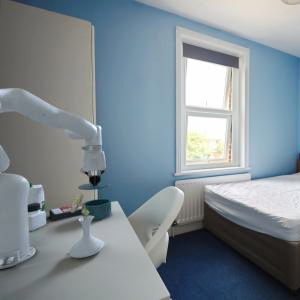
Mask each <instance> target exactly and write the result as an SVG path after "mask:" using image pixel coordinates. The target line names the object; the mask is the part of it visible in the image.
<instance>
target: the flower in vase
mask: <svg viewBox="0 0 300 300" xmlns="http://www.w3.org/2000/svg"><path fill="white" fill-rule="evenodd" d="M84 198H85V192H84V191H80V192H79V193H78V194H77V195H76V197H75V199H74V201H73V202H72V205H71V206H72V208H71V209H70V210H72V211H71V213H72V212H75V211H76V210H77V209H78V207H79V206H80V205H83V203H84V202H83V200H84ZM83 207H84V208H83V209H82V214H84V215H85V216H84V217H82V216H81V217H79V218H78V222H79V223H80V224H81V226H82V238H81V239H80V240H79V241H77V242H76V243H75V244H73V246H71V248H70V249H69V252H68V255H69V256H70V257H71V258H74V259H83V258H88V257H91V256H93V255H95V254H97V253H99V252H100V251H102V250H103V249H104V247H105V243H104V241H102V239H100V238H98V237H95V236H93V235H92V233H91V223H92V222H93V221H92V219H93V218H94V216H87V215H88V214H89V211H88V210H87V209H86V208H85V206H84V205H83Z"/></svg>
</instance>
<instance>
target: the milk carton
mask: <svg viewBox="0 0 300 300" xmlns="http://www.w3.org/2000/svg"><path fill="white" fill-rule="evenodd" d="M29 185H30V190H29V195H28V203H27V204H29V203H40V208H41V211H45V210H46V203H45V192H44V187H43V185H42V184H35V185H34V184H33V183H32V182H29ZM45 212H46V211H45Z"/></svg>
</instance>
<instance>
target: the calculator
mask: <svg viewBox="0 0 300 300" xmlns="http://www.w3.org/2000/svg"><path fill="white" fill-rule="evenodd" d="M72 206H73V205H67V206H61V207H57V208H52V209H49V211H48V212H49V214H48V215H49V218H50V219H51V220H52V221H54V222H55V221H59V220H63V219H68V218H72V217H77V216H82V204H81V205H80V206H79V207H78V209H77V210H76V211H75V212H72V213H71V211H72V210H70V209H71V208H72Z"/></svg>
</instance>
